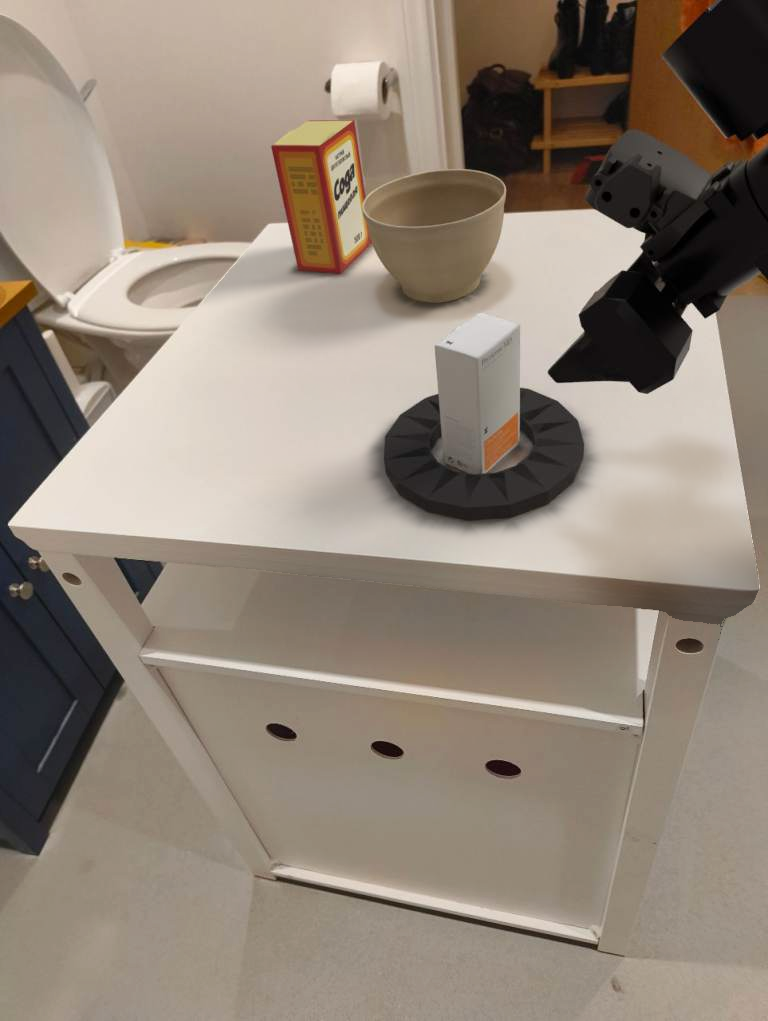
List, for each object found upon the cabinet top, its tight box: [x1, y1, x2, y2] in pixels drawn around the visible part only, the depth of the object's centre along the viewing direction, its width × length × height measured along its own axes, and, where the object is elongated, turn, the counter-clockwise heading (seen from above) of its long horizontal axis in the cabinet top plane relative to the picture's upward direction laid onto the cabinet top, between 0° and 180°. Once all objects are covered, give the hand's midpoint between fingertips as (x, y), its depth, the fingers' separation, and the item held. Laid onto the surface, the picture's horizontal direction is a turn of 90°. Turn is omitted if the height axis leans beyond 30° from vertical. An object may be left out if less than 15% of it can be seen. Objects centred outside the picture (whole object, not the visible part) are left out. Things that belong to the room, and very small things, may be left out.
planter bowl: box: [362, 168, 507, 303], centre depth 86 cm, size 16×16×11 cm
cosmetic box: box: [434, 312, 521, 474], centre depth 61 cm, size 6×4×12 cm
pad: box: [383, 387, 585, 522], centre depth 65 cm, size 17×17×2 cm
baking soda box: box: [270, 119, 372, 275], centre depth 95 cm, size 10×6×16 cm
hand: (576, 343), depth 53 cm, fingers open, 9 cm apart
